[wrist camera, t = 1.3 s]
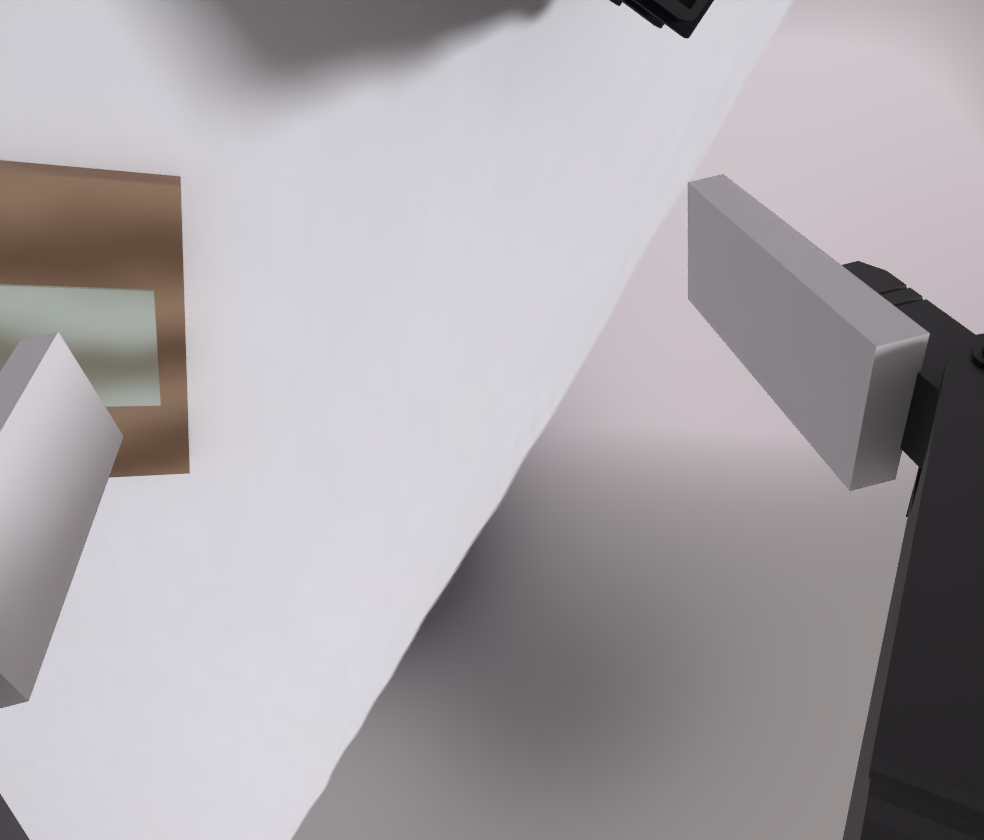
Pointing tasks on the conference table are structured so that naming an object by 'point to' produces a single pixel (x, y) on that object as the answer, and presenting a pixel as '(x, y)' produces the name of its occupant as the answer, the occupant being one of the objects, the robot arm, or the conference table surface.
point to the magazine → (670, 13)
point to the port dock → (103, 294)
